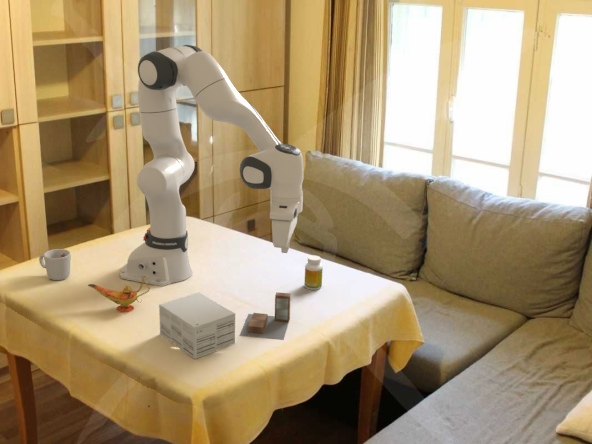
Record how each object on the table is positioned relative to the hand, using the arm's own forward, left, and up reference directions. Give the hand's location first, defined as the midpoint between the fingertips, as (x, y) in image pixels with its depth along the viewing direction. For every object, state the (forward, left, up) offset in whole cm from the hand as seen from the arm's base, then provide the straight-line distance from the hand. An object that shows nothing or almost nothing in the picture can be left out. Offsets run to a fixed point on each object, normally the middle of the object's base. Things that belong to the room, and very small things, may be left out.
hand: (285, 251), depth 210 cm
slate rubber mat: (-4, -10, -19) cm, 22 cm away
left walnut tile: (-6, -6, -18) cm, 20 cm away
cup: (-74, +11, -20) cm, 77 cm away
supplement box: (-20, -19, -20) cm, 34 cm away
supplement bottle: (+6, +20, -20) cm, 29 cm away
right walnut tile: (0, -5, -19) cm, 20 cm away
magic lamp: (-47, -6, -20) cm, 51 cm away
